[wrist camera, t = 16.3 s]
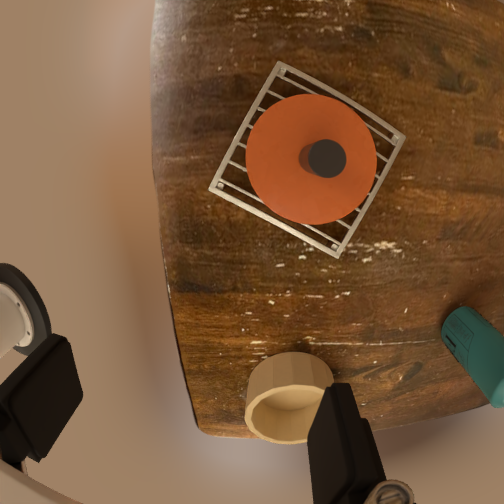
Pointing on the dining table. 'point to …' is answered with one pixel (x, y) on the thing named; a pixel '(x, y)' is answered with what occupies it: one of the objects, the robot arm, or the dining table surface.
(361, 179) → the lid
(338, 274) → the dining table surface
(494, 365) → the beverage bottle
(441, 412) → the dining table surface
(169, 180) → the dining table surface
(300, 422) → the pot
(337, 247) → the rack
